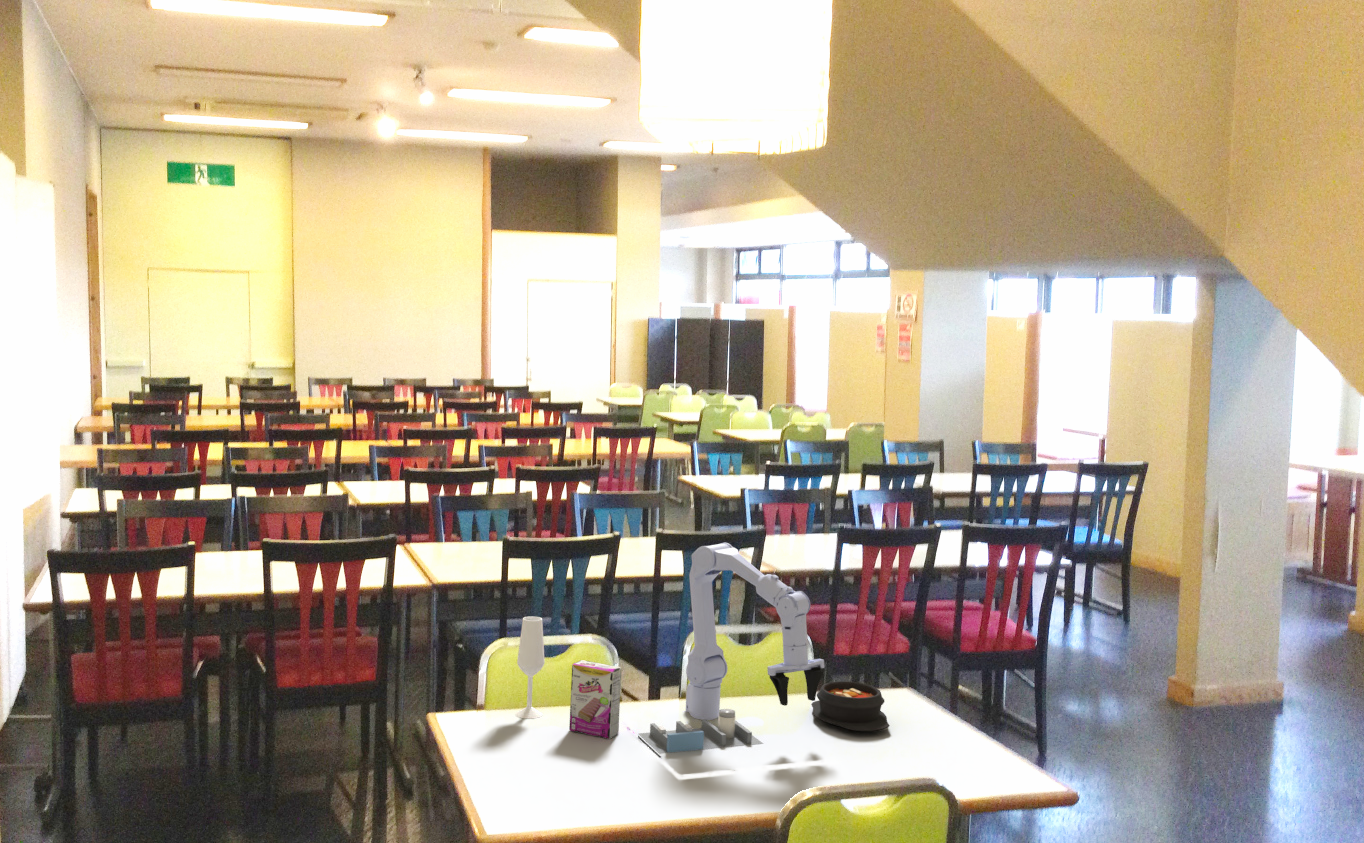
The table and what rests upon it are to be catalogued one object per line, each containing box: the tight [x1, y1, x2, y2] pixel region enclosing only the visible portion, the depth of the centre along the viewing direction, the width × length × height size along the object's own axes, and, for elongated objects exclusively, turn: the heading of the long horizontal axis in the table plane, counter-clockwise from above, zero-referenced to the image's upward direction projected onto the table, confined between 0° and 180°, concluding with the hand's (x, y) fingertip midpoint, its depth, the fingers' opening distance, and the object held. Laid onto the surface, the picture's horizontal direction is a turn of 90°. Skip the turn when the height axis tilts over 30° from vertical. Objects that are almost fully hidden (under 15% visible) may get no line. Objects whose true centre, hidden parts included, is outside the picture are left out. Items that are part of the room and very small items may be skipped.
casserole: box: [811, 681, 890, 732], centre depth 304 cm, size 25×19×8 cm
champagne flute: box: [515, 616, 546, 720], centre depth 297 cm, size 7×7×24 cm
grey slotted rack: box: [637, 719, 764, 759], centre depth 283 cm, size 14×26×5 cm, turn 112°
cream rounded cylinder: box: [717, 708, 736, 739], centre depth 285 cm, size 4×4×6 cm
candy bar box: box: [569, 659, 622, 740], centre depth 286 cm, size 11×5×16 cm, turn 65°
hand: (797, 702), depth 283 cm, fingers open, 7 cm apart
